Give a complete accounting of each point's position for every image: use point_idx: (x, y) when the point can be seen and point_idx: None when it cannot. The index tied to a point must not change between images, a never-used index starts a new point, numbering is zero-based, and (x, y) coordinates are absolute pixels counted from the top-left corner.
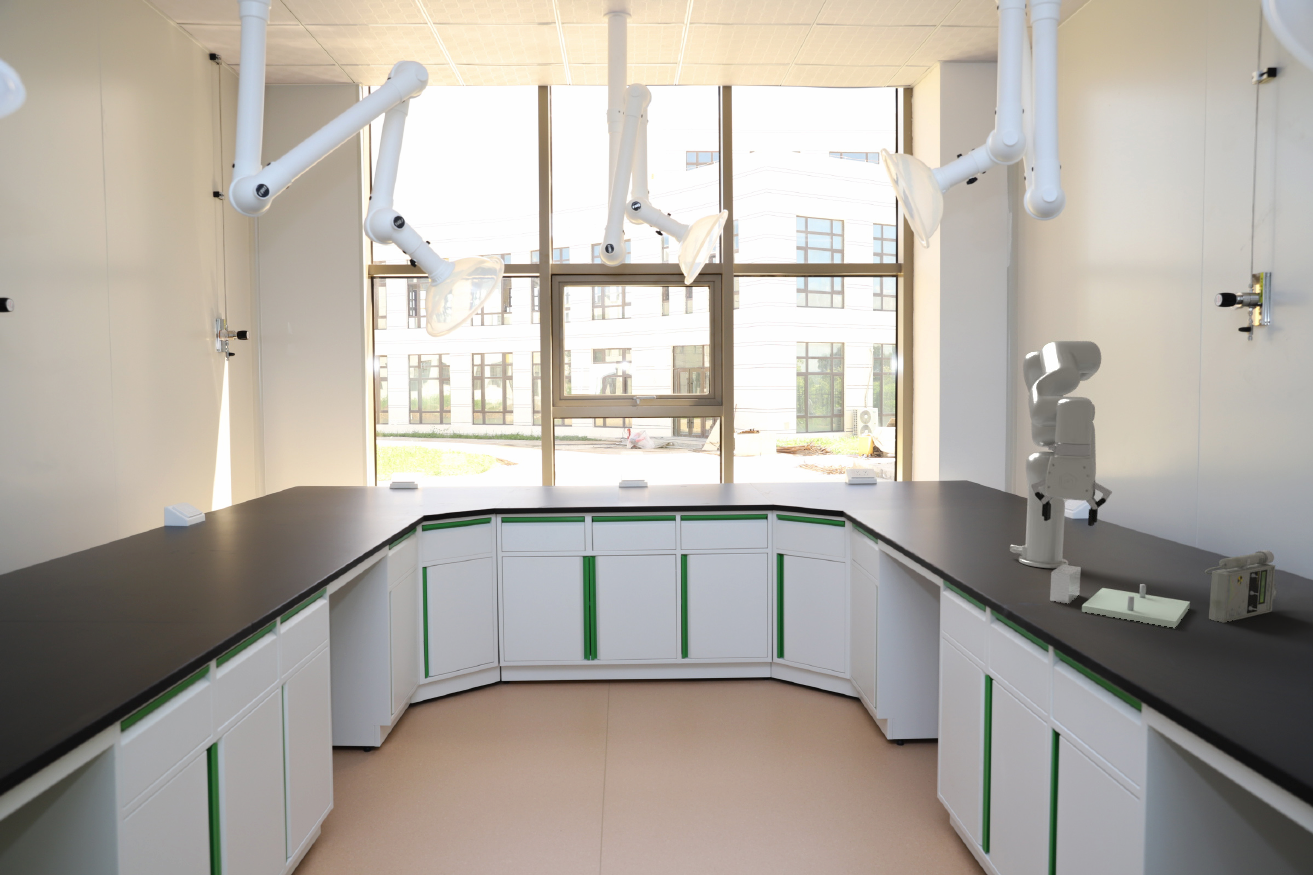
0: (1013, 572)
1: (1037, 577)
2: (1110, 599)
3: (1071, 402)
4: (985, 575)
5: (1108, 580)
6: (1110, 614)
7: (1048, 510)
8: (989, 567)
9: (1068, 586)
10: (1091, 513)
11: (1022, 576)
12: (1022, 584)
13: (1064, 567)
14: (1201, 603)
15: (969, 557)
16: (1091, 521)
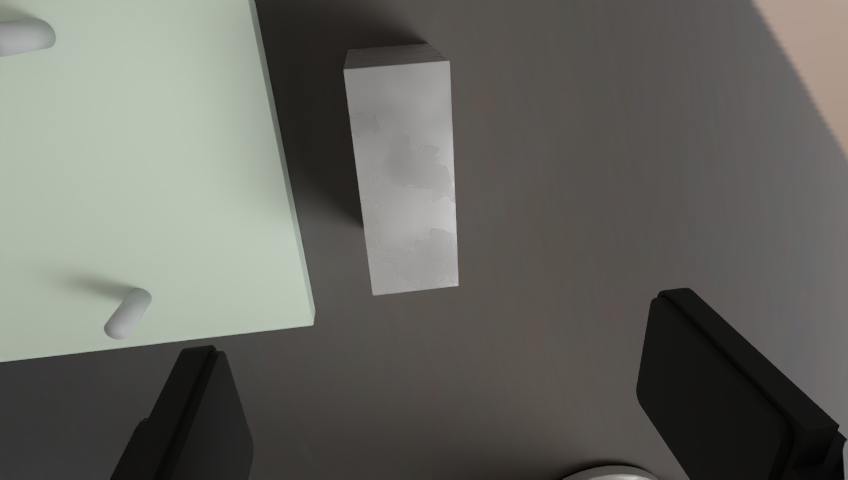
0: None
1: (569, 358)
2: (203, 165)
3: None
4: (739, 251)
5: (372, 477)
6: None
7: (714, 403)
8: None
9: (349, 59)
10: (127, 466)
11: (616, 334)
12: (592, 226)
13: (430, 229)
14: (30, 428)
15: None
16: (169, 383)
